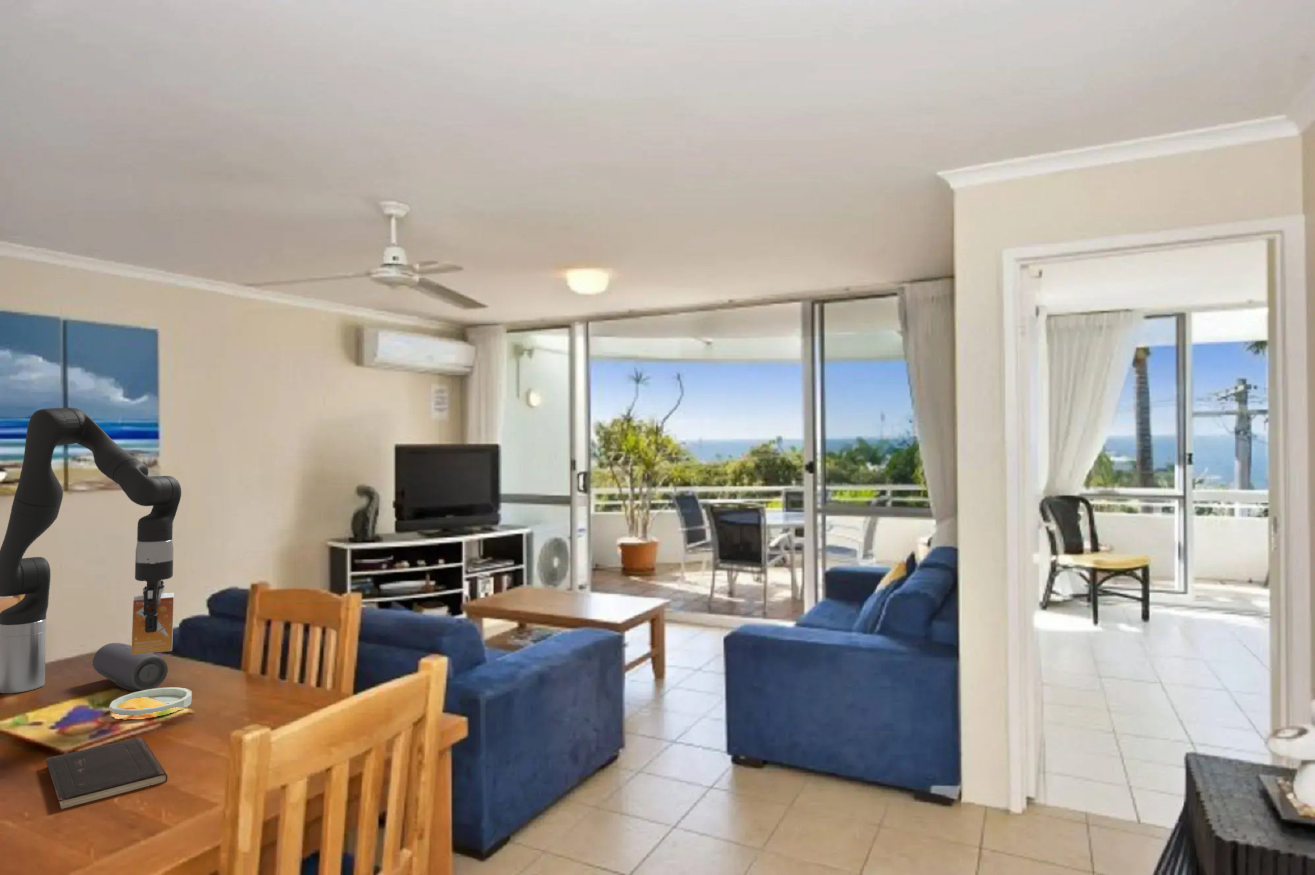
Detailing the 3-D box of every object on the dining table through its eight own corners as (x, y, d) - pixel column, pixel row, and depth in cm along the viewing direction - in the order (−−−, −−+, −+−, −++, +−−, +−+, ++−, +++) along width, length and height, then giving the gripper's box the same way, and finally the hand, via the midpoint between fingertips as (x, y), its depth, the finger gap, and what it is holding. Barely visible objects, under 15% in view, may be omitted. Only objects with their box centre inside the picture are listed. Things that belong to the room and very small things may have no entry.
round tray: (116, 702, 179) (116, 693, 179) (193, 692, 186) (193, 683, 186) (104, 724, 165) (104, 715, 165) (188, 713, 172) (188, 704, 172)
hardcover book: (58, 813, 127) (58, 800, 127) (45, 770, 143) (45, 758, 143) (167, 784, 138) (167, 772, 138) (143, 747, 155) (143, 736, 155)
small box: (131, 656, 171) (132, 600, 171) (132, 649, 176) (133, 595, 176) (172, 651, 175) (174, 596, 175) (172, 644, 181) (174, 591, 181)
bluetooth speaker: (170, 689, 188) (171, 650, 189) (128, 700, 181) (129, 659, 181) (130, 673, 201) (130, 637, 201) (89, 682, 193) (90, 644, 193)
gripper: (139, 555, 180) (138, 623, 180) (130, 564, 168) (129, 637, 168) (176, 554, 184) (174, 620, 184) (170, 562, 171) (168, 634, 171)
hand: (152, 628), depth 176 cm, fingers closed on small box, 6 cm apart
